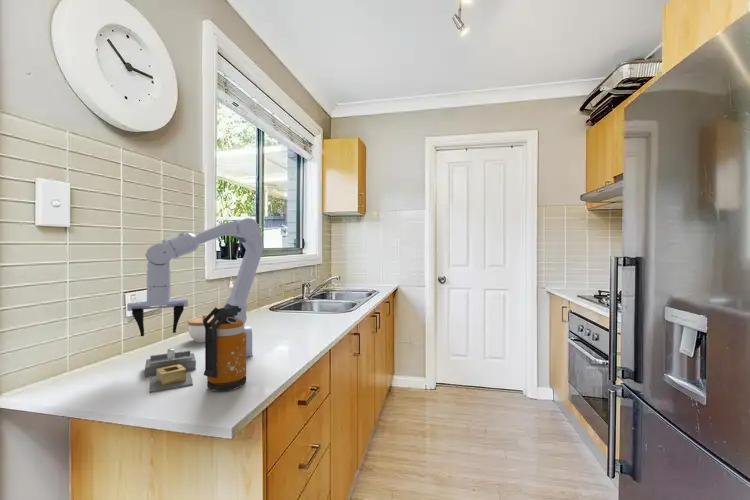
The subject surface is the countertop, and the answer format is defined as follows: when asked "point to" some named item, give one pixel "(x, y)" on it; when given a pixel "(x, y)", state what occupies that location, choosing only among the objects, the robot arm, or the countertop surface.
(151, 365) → the block
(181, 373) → the brass square ring
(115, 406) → the countertop surface
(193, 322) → the lidded jar
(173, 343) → the countertop surface
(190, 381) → the rubber mat
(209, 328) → the canister
